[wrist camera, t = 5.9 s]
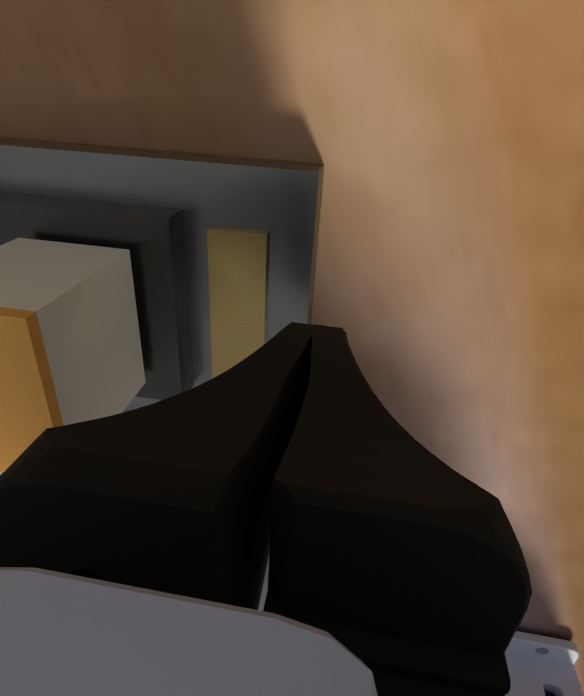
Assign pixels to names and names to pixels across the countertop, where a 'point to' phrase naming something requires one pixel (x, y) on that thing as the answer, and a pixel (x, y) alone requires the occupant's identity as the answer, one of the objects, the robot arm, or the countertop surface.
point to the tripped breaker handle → (64, 338)
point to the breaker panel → (179, 245)
